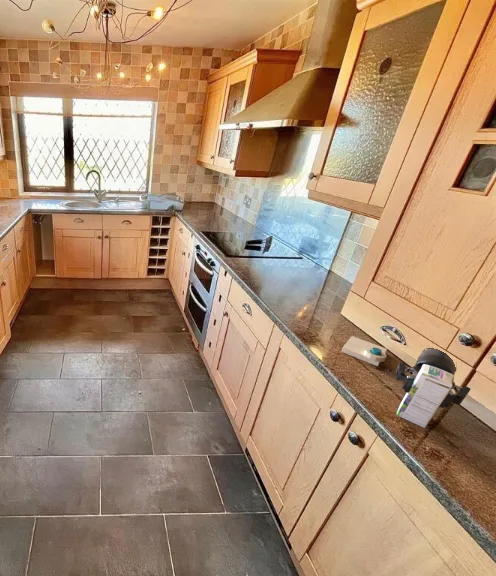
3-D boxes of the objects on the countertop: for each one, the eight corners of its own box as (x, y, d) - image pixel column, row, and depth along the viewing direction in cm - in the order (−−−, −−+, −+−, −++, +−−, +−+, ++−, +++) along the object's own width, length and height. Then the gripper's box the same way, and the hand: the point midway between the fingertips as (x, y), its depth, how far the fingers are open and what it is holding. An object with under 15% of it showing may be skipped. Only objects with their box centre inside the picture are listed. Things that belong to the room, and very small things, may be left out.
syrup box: (399, 403, 84) (422, 362, 78) (428, 416, 80) (455, 373, 74) (395, 415, 81) (419, 373, 74) (426, 429, 77) (453, 385, 70)
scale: (388, 354, 103) (392, 346, 101) (380, 369, 97) (384, 360, 95) (350, 340, 110) (353, 332, 109) (340, 352, 104) (343, 344, 103)
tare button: (381, 353, 99) (382, 349, 98) (379, 356, 97) (380, 353, 97) (371, 350, 100) (373, 346, 100) (369, 353, 99) (371, 349, 98)
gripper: (466, 391, 82) (458, 426, 72) (396, 364, 92) (382, 392, 82) (480, 369, 78) (475, 402, 69) (406, 343, 88) (393, 370, 79)
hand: (424, 396), depth 75 cm, fingers closed on syrup box, 6 cm apart
